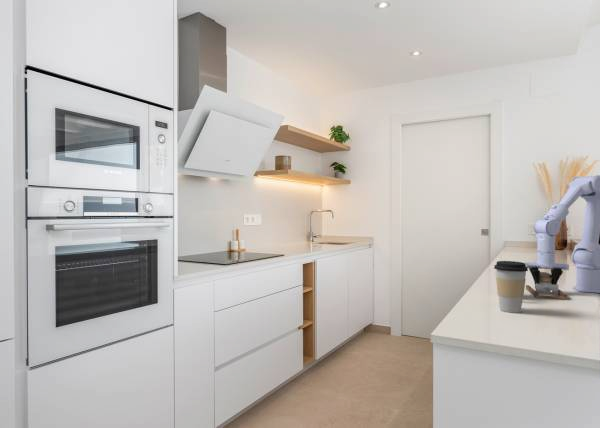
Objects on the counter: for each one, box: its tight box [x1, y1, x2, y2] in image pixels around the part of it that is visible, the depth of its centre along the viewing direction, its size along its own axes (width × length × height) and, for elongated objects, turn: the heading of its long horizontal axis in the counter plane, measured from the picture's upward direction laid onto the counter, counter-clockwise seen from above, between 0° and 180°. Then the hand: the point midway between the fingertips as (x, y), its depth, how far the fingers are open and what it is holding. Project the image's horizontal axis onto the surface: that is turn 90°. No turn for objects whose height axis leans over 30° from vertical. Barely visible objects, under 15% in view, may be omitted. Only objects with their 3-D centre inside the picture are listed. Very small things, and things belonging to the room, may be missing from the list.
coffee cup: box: [493, 260, 529, 314], centre depth 126 cm, size 9×9×15 cm
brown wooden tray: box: [525, 284, 570, 301], centre depth 150 cm, size 10×16×2 cm, turn 162°
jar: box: [534, 271, 553, 290], centre depth 152 cm, size 5×5×6 cm
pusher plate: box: [535, 283, 559, 296], centre depth 145 cm, size 7×8×4 cm
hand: (545, 288), depth 150 cm, fingers closed on jar, 5 cm apart
